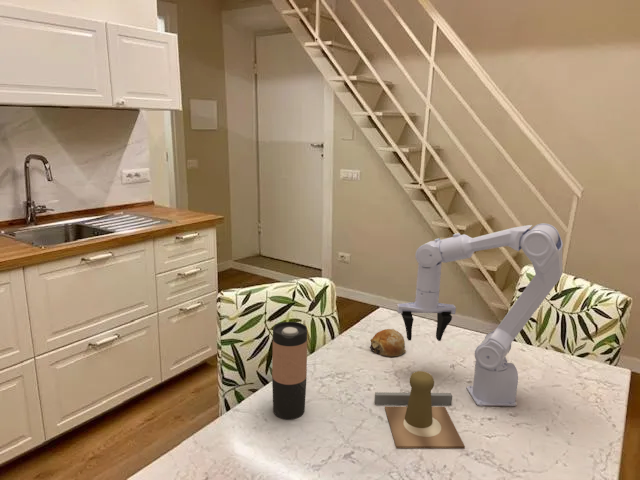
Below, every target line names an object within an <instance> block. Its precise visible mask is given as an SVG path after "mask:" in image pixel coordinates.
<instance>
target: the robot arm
mask: <svg viewBox="0 0 640 480" xmlns="http://www.w3.org/2000/svg"><path fill="white" fill-rule="evenodd" d="M530 228H531V229H530ZM563 246H564V242H563V240H562V237H561V235H560V233H559V230H558V229H557V228H556V227H555V226H554V225H552V224H549V223H543V222H542V223H538V224H536V225H534V226H533V224H528V225H521V226H516V227H515V226H514V227H510V228H507V229H502V230H499V231H495V232H490V233H487V234H483V235H479V236H475V237H471V236H469V235H467V234H465V233H463V234H461V233H460V232H456V233H454V234H452V236H451V237H446V238H442V239H441V238H439V237H438V238H435V239H434V240H430V241H428V242H426V243H423V244H422V245H420V246H419V247H418V248H416V251H415V261H416V263H418V264H417V274H416V287H415V298H414V299H415V301H414V302H413V301H412V302H411V301H410V302H405V303H397V304H396V305H397V307H396V312H397V314H401V317H402V319H403V322H404V323H403V324H404V326H405V331H406V339H407V340H408V341H412V335H413V334H412V332H413V331H412V330H413V325H414V324H413V323H414V317H413V314H414V313H415V314H417V313H418V314H420V313H421V314H436V315H437V316H436V317H437V318H436V319H437V320H436V321H437V322H436V323H437V324H436V331H435V338H436V340H437V341H438V342H441V341H442V338H443V335H444V332H445V330H447V329H446V328H447V327H448V325H449V324H450V323H451V322H452V320H453V316H452V315H456V309H457V308H456V306H455V304H453V303H452V304H451V303H443V302H442V303H441V302H439V299H440V290H441V278H442V277H441V276H442V264H446V263H452V262H457V261H462V260H467V259H470V258H472V257H473V255H474V253H475V252H479V251H480V252H481V251H484V250H491V249H498V248H503V247H509V248H511V249H513V250H514V251H517V252H519V251H521V250H522V252H523V254H524V255H525V256H526V257H527V258H528V260H529V261H530V262H531V265H532V267H533V270H534V272H535V274H534V276H533V277H532V279H531V280H530V281H529V283H528V284H527V286H526V287H525V288H524V289H523V291H522V293H521V294H520V295H519V297H518V298H517V300H516V301H515V302H514V303H513V305H512V307H511V308H510V309H509V310H508V312H507V313H506V314H505V316H504V317H503V319H502V320H501V322H500V323H499V324H498V326H497V327H496V328H495V329H494V330H492V331H490V332H488V333H487V334H486V335H485V336H484V339H483V340H482V342H481V343H480V344H478V346H476V348H475V350H474V358H475V364H474V365H475V366H474V374H473V383H472V385H467V386H466V390H467V391H468V393H469V395H470V396H471V399H473V401H474V403H475V404H476V405H477V406H480V407H481V406H483V407H484V406H485V407H486V406H493V407H494V406H495V407H496V406H498V407H499V406H501V407H502V406H503V407H504V406H505V407H508V406H509V407H514V406H515V407H516V406H517V403H516V398H517V393H518V391H517V390H518V385H519V384H518V383H519V373H518V369H517V367H516V365H515V364H514V363H513V362H508V360H507V357H506V356H507V355H508V354H509V352H510V351H511V350H512V349H511V348H512V343H513V341H514V340H515V338H517V336H518V335H519V334H520V332H521V331H522V329H523V328H524V327H525V326H526V324H527V323H528V321H529V320H531V318H532V316H533V315H534V314H535V312H536V311H537V310H538V309H539V307H540V306H541V305H542V303H543V302H544V301H545V299H546V298H547V297H548V295H549V294H550V293H551V291H552V290H553V288H554V287H555V286H556V285H557V283H558V282H559V281H560V279H561V278H562V275H563Z"/></svg>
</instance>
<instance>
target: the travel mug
mask: <svg viewBox="0 0 640 480" xmlns="http://www.w3.org/2000/svg"><path fill="white" fill-rule="evenodd" d="M271 356H272V357H271V359H272V362H271V363H272V366H271V368H272V369H271V375H272V377H271V378H272V379H271V381H272V383H271V385H272V410H273V414H274V415H275V416H276V417H277V418H279V419H282V420H295V419H298V418H300V417H302V416H303V415H304V413H305V409H306V406H305V405H306V396H307V395H306V393H307V376H308V375H307V374H308V372H307V370H308V366H307V365H308V362H307V361H308V328H307V326H306V325H305V324H303V323H301V322H298V321H297V322H296V321H283V322H279V323H277V324H275V325H274V326H273V328H272V355H271Z"/></svg>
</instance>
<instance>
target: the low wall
mask: <svg viewBox="0 0 640 480" xmlns="http://www.w3.org/2000/svg"><path fill="white" fill-rule="evenodd" d="M409 397H410V392H387V391H386V392H381V391H380V392H378V391H377V392H374V406H375V405H376V406H407V405H408V401H409ZM452 401H453V394H452V393H451V392H431V402H432V406H452Z"/></svg>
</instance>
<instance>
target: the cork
mask: <svg viewBox="0 0 640 480" xmlns="http://www.w3.org/2000/svg"><path fill="white" fill-rule="evenodd" d="M409 386H410V388H411V389H410V392H409V393H410V397H409V401H408V405H406V407H407V410H406V414H405V421H406V422H407V423H408V424H409V425H411V426H413V427H417V428H427V427H429V426H431V425H432V407H433V405H432V402H431V393H432V390H433V388H434V386H435V379H434V377H433V375H432V374H430V373H429V372H427V371H423V370H418V371H414V372H413V373H412V374H410V377H409Z"/></svg>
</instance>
